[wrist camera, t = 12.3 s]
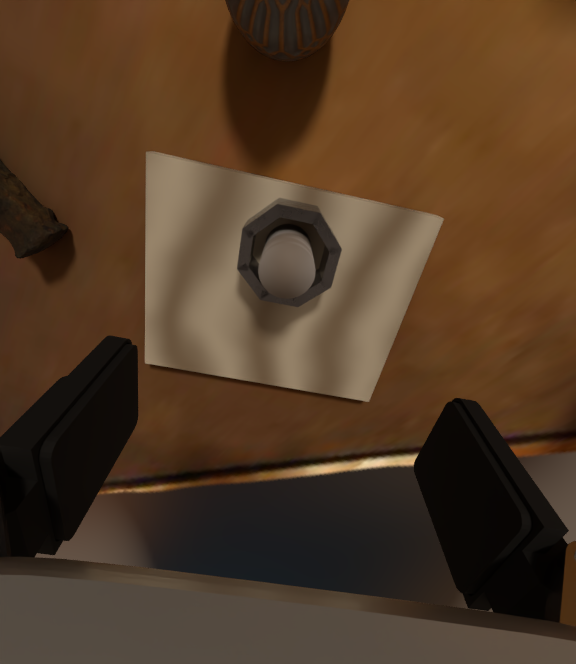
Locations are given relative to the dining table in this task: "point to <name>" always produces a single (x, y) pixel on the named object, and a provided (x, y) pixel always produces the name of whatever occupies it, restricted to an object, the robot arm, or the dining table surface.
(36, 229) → the hand tool
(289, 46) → the vase
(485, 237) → the dining table surface
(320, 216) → the ring
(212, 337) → the board
